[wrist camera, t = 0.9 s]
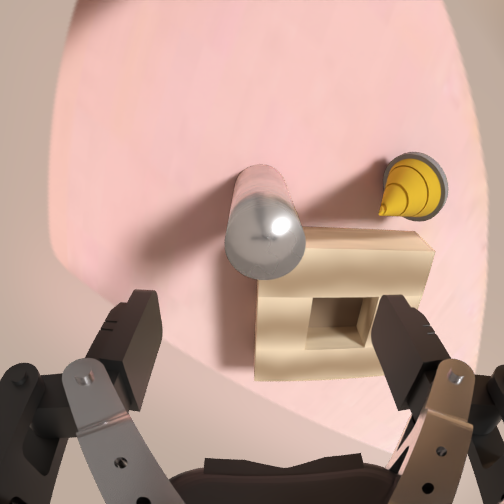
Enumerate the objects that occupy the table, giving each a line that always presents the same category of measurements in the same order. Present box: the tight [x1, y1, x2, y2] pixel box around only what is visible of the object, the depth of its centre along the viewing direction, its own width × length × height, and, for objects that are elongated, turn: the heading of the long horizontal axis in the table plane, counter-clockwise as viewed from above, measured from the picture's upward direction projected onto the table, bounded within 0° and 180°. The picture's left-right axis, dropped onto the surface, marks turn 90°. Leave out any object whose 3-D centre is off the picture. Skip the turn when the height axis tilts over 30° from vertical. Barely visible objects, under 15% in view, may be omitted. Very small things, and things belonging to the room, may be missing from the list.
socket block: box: [254, 227, 435, 381], centre depth 28 cm, size 14×14×4 cm
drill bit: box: [379, 152, 448, 221], centre depth 21 cm, size 5×5×10 cm
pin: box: [225, 164, 306, 280], centre depth 21 cm, size 4×4×10 cm
